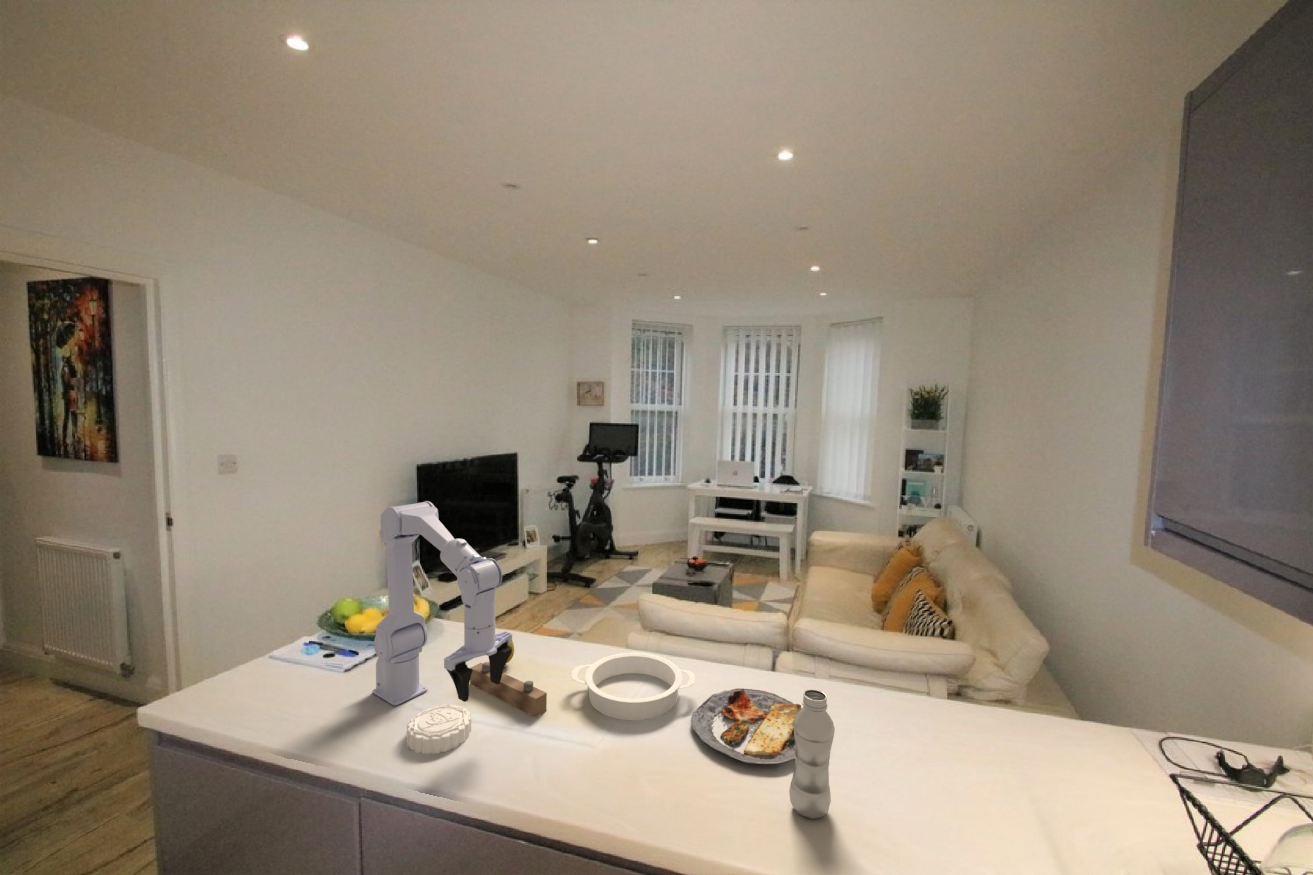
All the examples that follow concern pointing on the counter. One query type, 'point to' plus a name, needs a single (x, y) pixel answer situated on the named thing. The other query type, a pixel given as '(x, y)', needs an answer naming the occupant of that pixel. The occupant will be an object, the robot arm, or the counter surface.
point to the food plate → (749, 724)
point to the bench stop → (510, 690)
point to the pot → (633, 664)
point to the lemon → (512, 651)
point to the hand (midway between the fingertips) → (479, 690)
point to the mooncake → (438, 729)
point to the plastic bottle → (812, 756)
